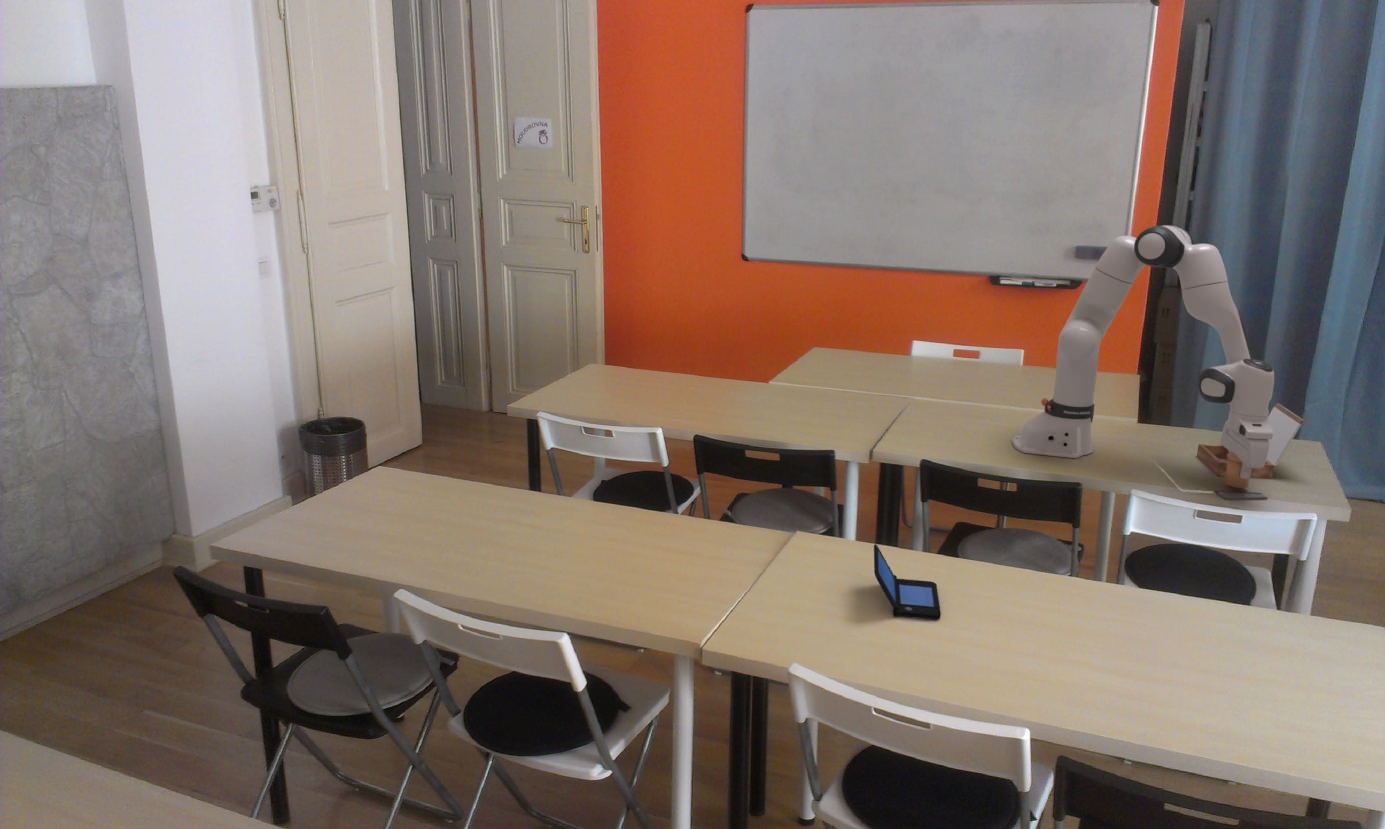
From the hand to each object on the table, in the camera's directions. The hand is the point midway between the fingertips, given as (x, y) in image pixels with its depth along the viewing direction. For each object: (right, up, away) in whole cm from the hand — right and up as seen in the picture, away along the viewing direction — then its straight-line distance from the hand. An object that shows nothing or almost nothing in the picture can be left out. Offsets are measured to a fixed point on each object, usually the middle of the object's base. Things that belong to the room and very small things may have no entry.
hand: (1237, 473), depth 268 cm
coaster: (0, -5, +1) cm, 5 cm away
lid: (+17, +10, +14) cm, 24 cm away
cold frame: (+8, 0, +18) cm, 20 cm away
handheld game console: (-99, -23, -60) cm, 118 cm away
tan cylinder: (0, -3, +1) cm, 3 cm away
